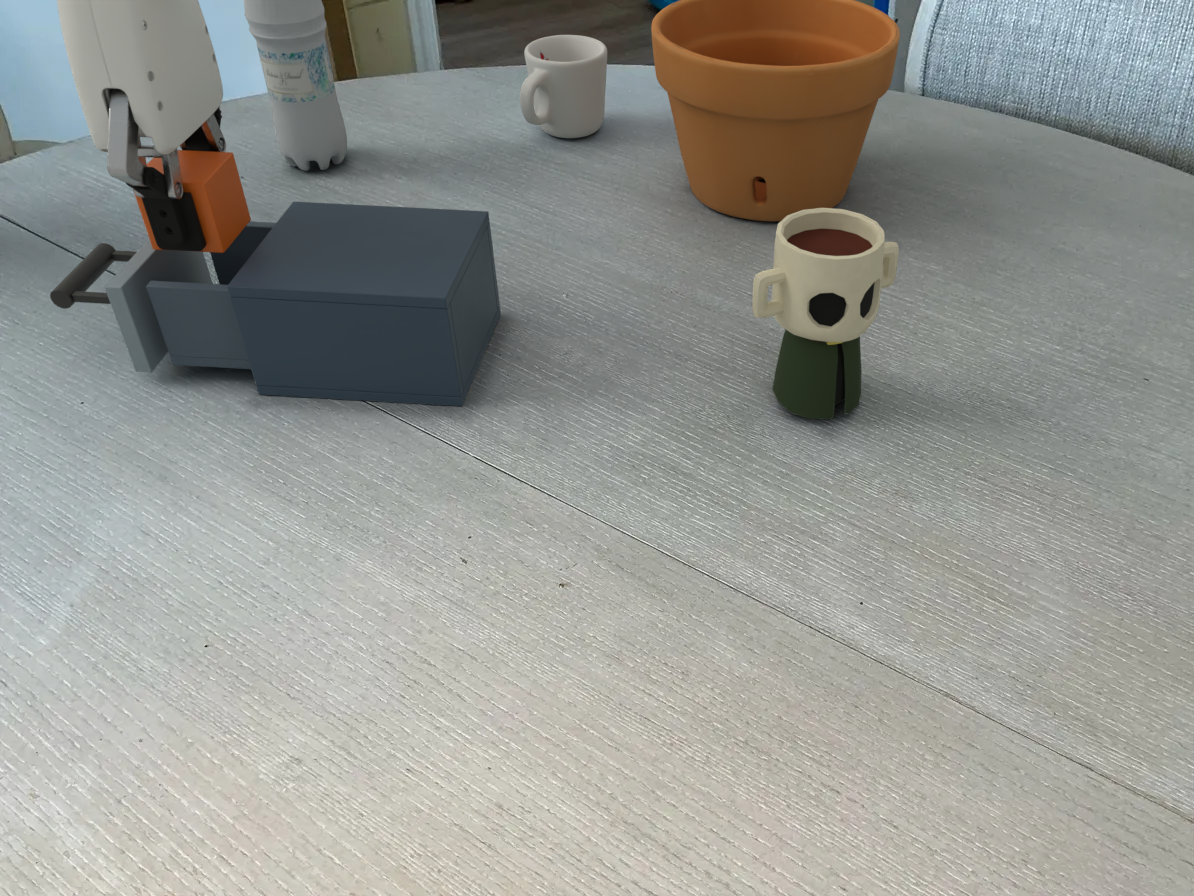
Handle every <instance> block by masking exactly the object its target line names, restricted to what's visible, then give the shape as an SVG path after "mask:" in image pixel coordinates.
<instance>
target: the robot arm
mask: <svg viewBox="0 0 1194 896" xmlns="http://www.w3.org/2000/svg"><path fill="white" fill-rule="evenodd" d="M56 6H57V13H58V17H59V23H60V29H61V33H62V38H63V42H64V47H65V52H66V55H67V59H68V64H69V67H70V71H71V74H72V78H73V82H74V85H75V88H76V92H77V96H78V99H79V102H80V106H81V109H82V112H83V116H84V119H85V122H86V125H87V129H88V131H89V135H90V137H91V139H92V141H93V143H94V146H95V147H96V149H98V151H100V152H101V153H107V156H106V157H107V158H106V162H107V163H106V169H107V173H108V174H109V176H110V177H112V178H114V179H117V181H118V180H119V181H121V182H123V183H125V185H127V186H128V187H129V188H131V189H132V191H133V190H134V191H133V194H134V193H135V194H134V196H135V195H136V196H137V197H141V198H142V201H143V204H144V207H145V210H146V213H147V216H148V219H149V222H150V225H151V228H152V231H153V234H154V238H155V241H156V244H157V246H158V247H159V248H160V249H163V250H179V251H202V250H203V249H204V248H205V247H206V241H205V238H204V234H203V231H202V228H201V224H200V221H199V218H198V214H197V211H196V208H195V204H194V201H193V198H192V194H191V192H183V183H182V177H181V170H180V164H179V157H178V151H177V150H178V148H179V147H180V150H189V151H211V152H227V151H226V150H227V142H226V139H225V136H224V134H223V132H222V129H221V123H222V118H223V115H222V110H221V104H222V102H223V98H224V88H223V81H222V77H221V73H220V67H219V64H218V61H217V57H216V52H215V49H214V46H213V42H212V39H211V36H210V32H209V29H208V26H207V22H206V19H205V17H204V14H203V10H202V8H201V4H200V1H199V0H56ZM141 138H151V141H152V143H153V145H151V144H142V142H141V141H142V140H141ZM147 158H152V159H153V158H162V165H163V171H164V175H163V174H162V173H161V172H159V171H158V170H157V169H155V168H154V167H147V164H148V163H147Z"/></svg>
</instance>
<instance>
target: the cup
mask: <svg viewBox="0 0 1194 896" xmlns="http://www.w3.org/2000/svg"><path fill="white" fill-rule="evenodd" d="M523 53H524V60H525V65H526V70H527V77H526V78H525V80H524V81H523V83H522V84H521V88H520V92H519V102H520V108H521V112H522V115H523V117H524V119H525V121H526V122H527V123H528V124H531V125H534V126H539V127H540V129H541V130H542V131H543V132H544V133H546V134H548V135H550V136H552V137H555V138H560V139H580V138H584V137H588V136H590V135H592V134H595V133H596V132H597V131H598V130H599V129H600V128H601V127H602V125H603V123H604V118H605V106H606V90H607V89H606V87H607V69H608V48H607V46H606V45H605V44H604V43H603V42H602V41H600V40H598V39H596V38H594V37H590V36H586V35H580V34H579V35H578V34H557V35H550V36H544V37H541V38H537V39H535V40H533V41H531V42H529V43H528V44H527V45H526V46H525V48H524V52H523Z"/></svg>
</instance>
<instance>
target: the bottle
mask: <svg viewBox="0 0 1194 896" xmlns="http://www.w3.org/2000/svg"><path fill="white" fill-rule="evenodd" d="M243 8H244V17H245V19H246V21H247V23H248V31H249V33H250V34H251V36H252V37H253V38H254V40H255V43H256V48H257V52H258V56H259V60H260V65H261V70H262V74H263V78H264V81H265V86H266V90H267V94H268V97H269V102H270V109H271V115H272V121H273V127H274V131H275V132H274V133H275V138H276V141H277V146H278V148H279V151H280V154H281V155H282V157H283V159H284V161H285V162H286V163H287V164H289V166H292V167H298V169H300V170H301V171H310V169H311V163H310V162H312V161H314V162H316V163H317V164H318V167H319V169H320V170H322V171H325V170H328V169H329V167H330V162H331V160H332V163H333V164H335V165H340V164H341V163H343V161H344V160H345V157H346V152H347V147H348V135H347V129H346V124H345V120H344V117H343V114H342V109H341V106H340V101H339V100H338V95H337V91H336V85H335V80H334V75H333V69H332V64H331V59H330V54H329V50H328V49H329V48H328V44H327V39H326V34H325V33H326V29H327V21H326V19H325V7H324V4H323V1H322V0H243Z"/></svg>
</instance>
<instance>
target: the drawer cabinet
mask: <svg viewBox="0 0 1194 896" xmlns="http://www.w3.org/2000/svg"><path fill="white" fill-rule="evenodd" d="M275 223H276V224H275V226H274V227H273V228H272V229H271V231H270V232H269V233H268V235H267V236H266V237H265V238H264V240H263V241H262V242H261V244H260V245H259V246H258V247H257V249H256V250H255V251H254V252H253V254H252V255H251V256H250V258H249V259H248V260H247V261H246V263H245V264H244V265H243V267H242V268H241V269H240V270H239V272H238V273H237V274H236V276H235V277H234V278H233V279H232V281H231V282H230V283H229V285H228V286H227V288H228V292H229V295H230V298H231V302H232V305H233V309H234V312H235V315H236V319H237V322H238V326H239V329H240V332H241V336H242V339H243V343H244V346H245V349H246V353H247V356H248V360H249V363H250V367H251V369H250V370H251V373H252V376H253V380H254V383H255V385H256V386H255V387H256V390H257V393H258V395H262V396H279V397H294V398H295V397H298V398H314V399H327V400H330V399H332V400H347V401H349V400H350V401H364V402H383V403H397V404H398V403H399V404H414V405H415V404H416V405H417V404H419V405H434V406H449V407H463V405H464V403H465V401H466V397H467V396H468V393H469V391H470V388H471V386H472V385H473V384H472V383H473V381H474V378H475V376H476V374H477V372H478V369H479V366H480V364H481V362H482V360H483V357H484V355H485V352H486V351H487V347H488V345H489V343H490V341H491V338H492V336H493V333H494V330H495V328H496V326H497V323H498V321H499V320H500V317H501V314H502V313H501V306H500V305H501V303H500V295H499V289H498V287H499V286H498V279H497V278H498V277H497V271H496V263H495V255H494V246H493V245H494V244H493V239H492V237H493V236H492V230H491V222H490V213H489V211H487V210H466V209H451V208H450V209H449V208H431V207H430V208H429V207H411V206H410V207H408V206H390V205H389V206H388V205H372V204H371V205H370V204H369V205H368V204H353V203H352V204H351V203H332V202H314V201H313V202H311V201H309V202H308V201H292V202H291V203H290V204H289V206H288V207H287V209H286V210H285V211H284V213H283V214H282V215H281V216H280V218H279V219H278V220H277V222H275Z"/></svg>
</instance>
